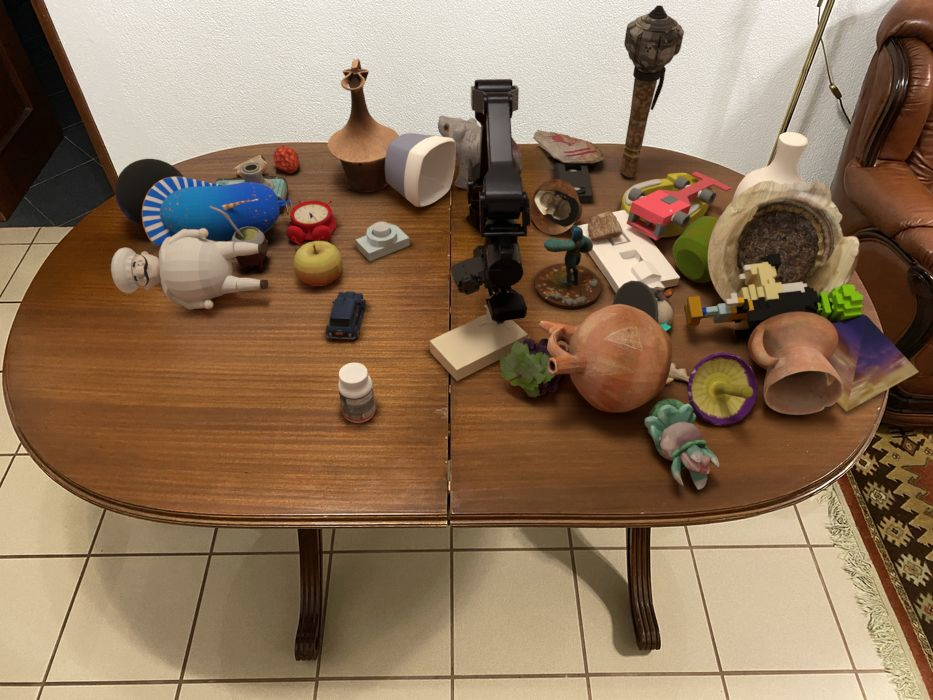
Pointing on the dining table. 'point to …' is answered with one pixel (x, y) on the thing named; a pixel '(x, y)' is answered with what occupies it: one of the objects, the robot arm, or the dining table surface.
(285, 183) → the camera
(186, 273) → the figurine
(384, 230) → the flush button
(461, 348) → the panel
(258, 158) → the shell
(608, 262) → the building model
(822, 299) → the toy
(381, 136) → the brown clay flask
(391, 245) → the control knob block
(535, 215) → the brown hollow round piece
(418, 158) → the bowl
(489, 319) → the knob
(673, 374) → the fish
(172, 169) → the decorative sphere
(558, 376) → the fruit
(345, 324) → the toy car
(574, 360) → the jug
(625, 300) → the figurine
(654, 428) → the toy
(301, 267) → the apple
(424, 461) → the dining table surface
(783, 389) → the ceramic jug
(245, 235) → the mate gourd
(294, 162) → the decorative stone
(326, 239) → the alarm clock
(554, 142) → the stone artifact
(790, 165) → the vase
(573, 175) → the vhs tape
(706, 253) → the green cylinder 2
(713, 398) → the decorative mushroom
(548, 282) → the figurine
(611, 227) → the stone
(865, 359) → the decorative sculpture
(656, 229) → the race car
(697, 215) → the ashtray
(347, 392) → the pill bottle
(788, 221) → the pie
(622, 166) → the mace
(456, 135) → the sculpture
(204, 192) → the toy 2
